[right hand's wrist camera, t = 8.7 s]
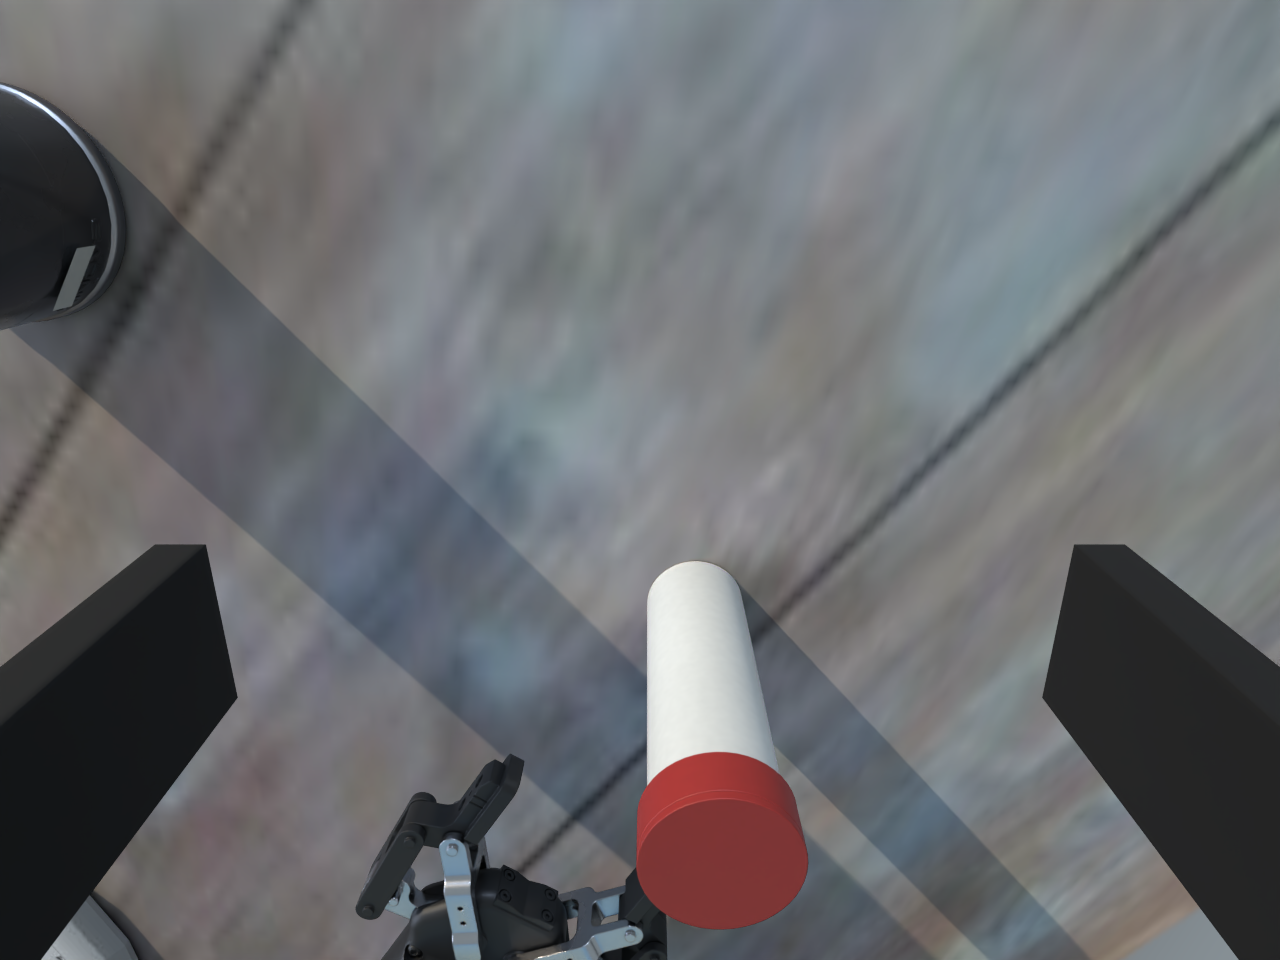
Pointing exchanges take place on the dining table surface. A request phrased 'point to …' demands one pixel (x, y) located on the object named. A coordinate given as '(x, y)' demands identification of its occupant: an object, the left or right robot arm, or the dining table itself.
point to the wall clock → (91, 938)
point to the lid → (720, 841)
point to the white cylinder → (701, 670)
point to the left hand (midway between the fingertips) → (596, 811)
